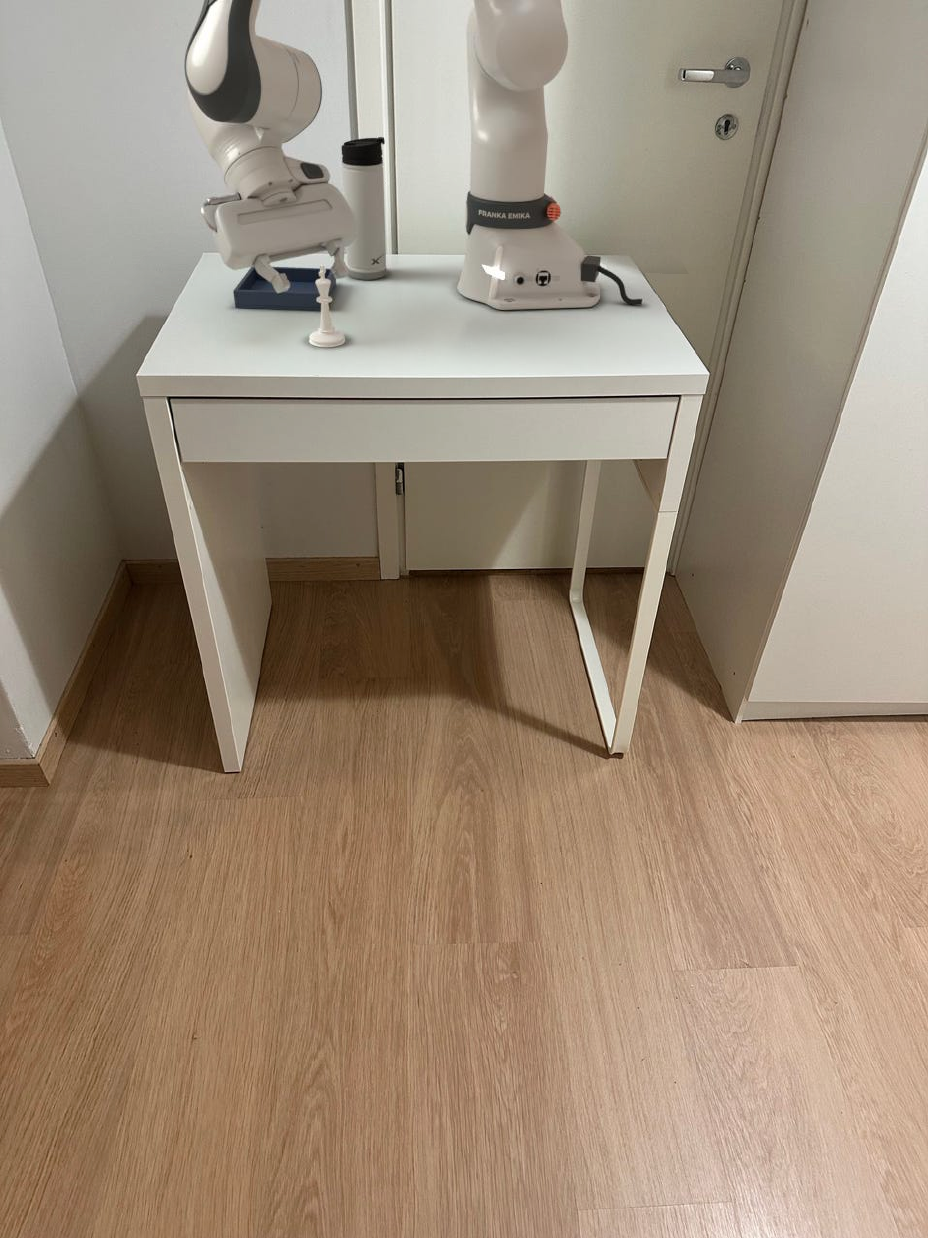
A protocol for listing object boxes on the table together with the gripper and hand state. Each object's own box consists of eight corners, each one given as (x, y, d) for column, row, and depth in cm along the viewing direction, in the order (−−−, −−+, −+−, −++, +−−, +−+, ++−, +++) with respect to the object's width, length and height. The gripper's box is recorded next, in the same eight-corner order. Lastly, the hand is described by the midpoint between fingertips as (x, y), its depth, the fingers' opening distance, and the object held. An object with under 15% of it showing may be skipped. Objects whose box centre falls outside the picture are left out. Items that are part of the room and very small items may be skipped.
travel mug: (386, 280, 142) (382, 141, 130) (345, 279, 142) (337, 140, 130) (390, 269, 147) (386, 134, 134) (350, 267, 147) (343, 132, 134)
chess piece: (349, 336, 122) (345, 261, 116) (339, 348, 119) (334, 272, 112) (315, 333, 123) (309, 258, 117) (304, 345, 119) (297, 269, 113)
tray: (336, 284, 140) (335, 268, 138) (323, 310, 130) (322, 293, 129) (253, 281, 140) (251, 265, 138) (235, 307, 130) (233, 290, 129)
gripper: (201, 184, 109) (254, 285, 109) (335, 164, 120) (383, 255, 120) (189, 215, 114) (239, 311, 114) (319, 193, 125) (364, 281, 125)
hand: (314, 282), depth 117 cm, fingers open, 8 cm apart
